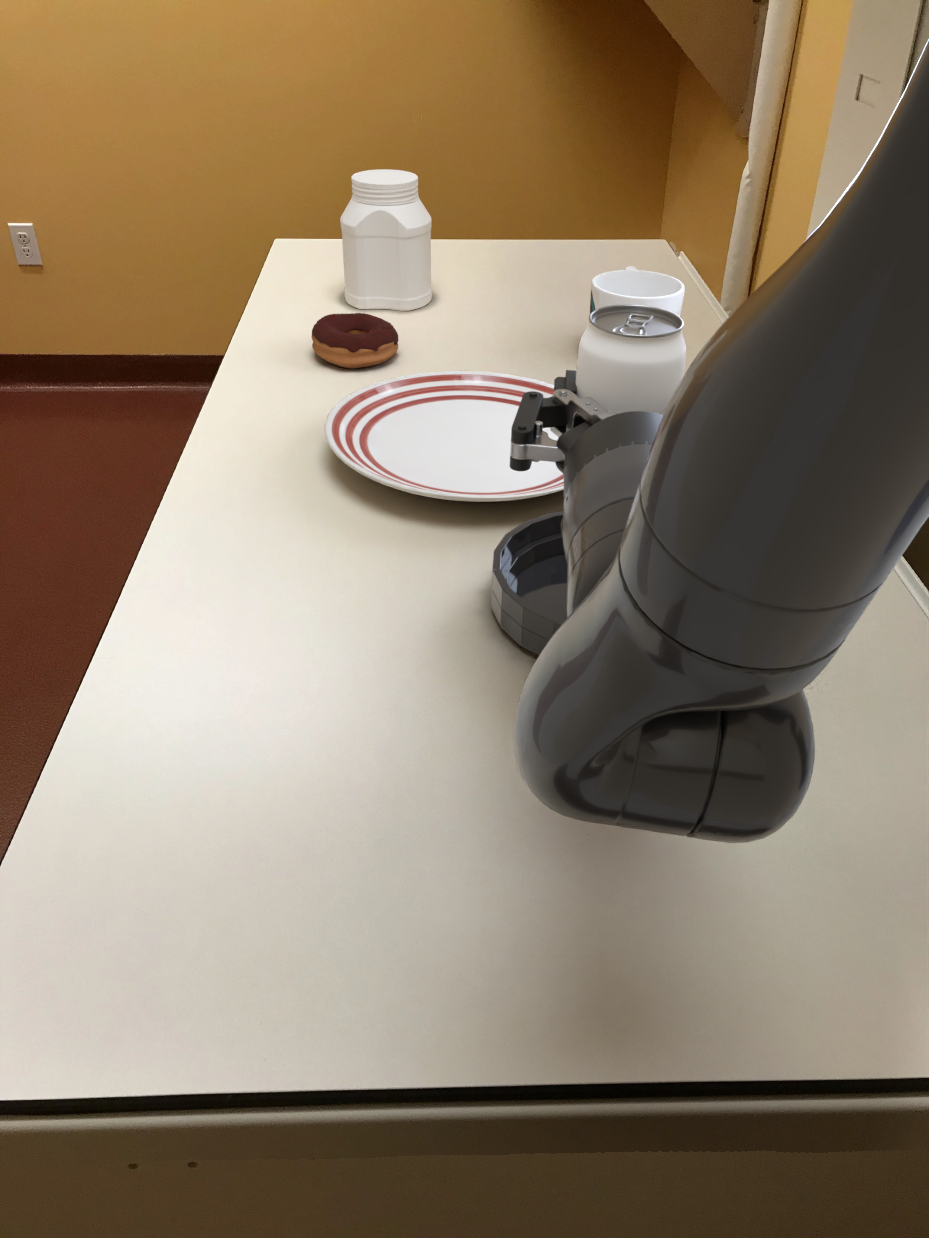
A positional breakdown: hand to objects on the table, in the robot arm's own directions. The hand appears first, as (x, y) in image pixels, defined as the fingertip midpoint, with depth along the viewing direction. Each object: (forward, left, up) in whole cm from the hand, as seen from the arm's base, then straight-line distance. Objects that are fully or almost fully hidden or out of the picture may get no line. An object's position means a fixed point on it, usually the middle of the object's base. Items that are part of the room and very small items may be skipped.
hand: (624, 387), depth 62 cm
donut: (-7, -53, -17) cm, 56 cm away
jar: (-20, -69, -17) cm, 74 cm away
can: (+2, +2, -7) cm, 7 cm away
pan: (+1, +1, -17) cm, 17 cm away
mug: (-36, -39, -17) cm, 56 cm away
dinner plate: (-5, -25, -17) cm, 31 cm away
